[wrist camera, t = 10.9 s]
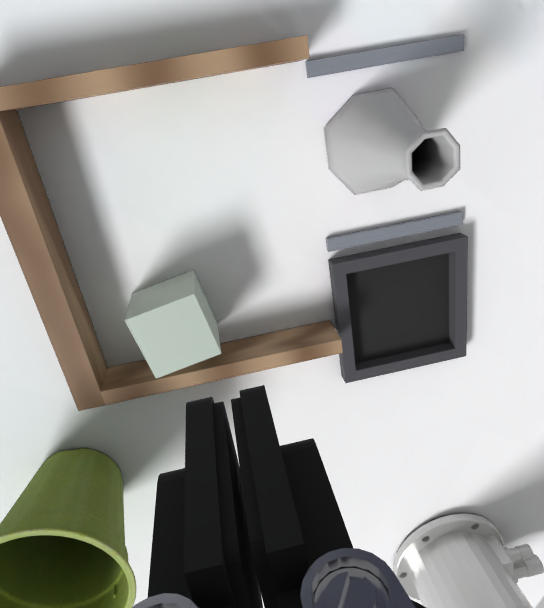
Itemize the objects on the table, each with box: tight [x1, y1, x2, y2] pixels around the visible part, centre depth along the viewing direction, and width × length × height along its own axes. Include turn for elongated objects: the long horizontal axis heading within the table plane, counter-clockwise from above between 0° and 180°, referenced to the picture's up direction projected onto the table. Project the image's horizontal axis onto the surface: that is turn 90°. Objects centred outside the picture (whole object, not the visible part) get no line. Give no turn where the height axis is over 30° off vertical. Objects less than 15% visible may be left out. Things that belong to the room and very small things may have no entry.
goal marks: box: [306, 34, 464, 252], centre depth 35 cm, size 11×13×1 cm
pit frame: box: [328, 233, 468, 383], centre depth 40 cm, size 11×11×1 cm
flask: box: [324, 88, 460, 195], centre depth 31 cm, size 7×7×10 cm
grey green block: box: [124, 270, 221, 379], centre depth 36 cm, size 5×5×5 cm
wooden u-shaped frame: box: [0, 35, 343, 411], centre depth 34 cm, size 20×22×4 cm
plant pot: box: [0, 448, 136, 608], centre depth 38 cm, size 12×12×11 cm
